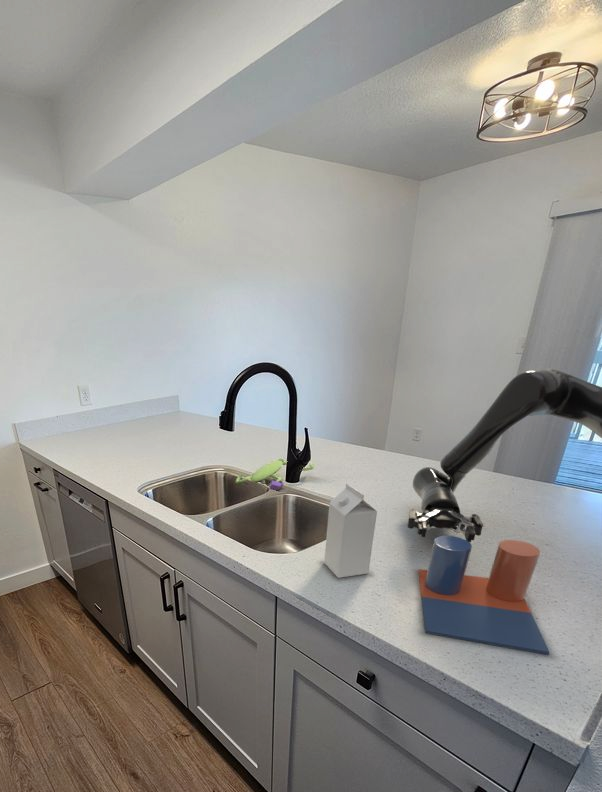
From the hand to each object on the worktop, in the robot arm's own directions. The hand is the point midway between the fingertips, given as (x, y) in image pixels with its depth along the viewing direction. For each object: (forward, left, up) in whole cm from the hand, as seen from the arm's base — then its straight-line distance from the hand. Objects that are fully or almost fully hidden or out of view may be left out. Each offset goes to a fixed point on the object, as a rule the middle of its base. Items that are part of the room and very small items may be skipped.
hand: (446, 535), depth 91 cm
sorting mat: (-5, +13, -9) cm, 16 cm away
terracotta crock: (-11, +7, -8) cm, 15 cm away
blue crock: (0, +8, -8) cm, 11 cm away
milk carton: (+19, +5, -9) cm, 21 cm away
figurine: (+47, -51, -9) cm, 70 cm away
